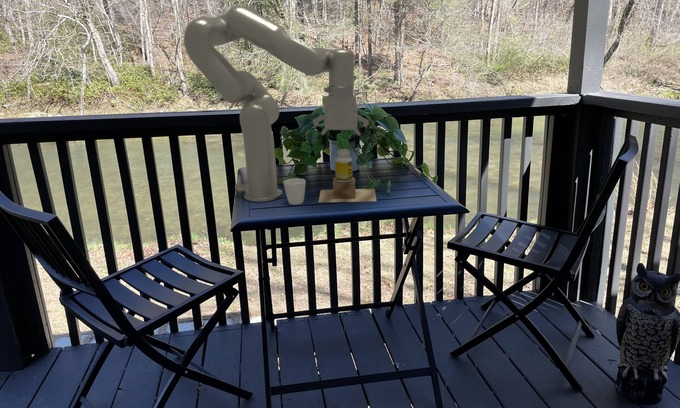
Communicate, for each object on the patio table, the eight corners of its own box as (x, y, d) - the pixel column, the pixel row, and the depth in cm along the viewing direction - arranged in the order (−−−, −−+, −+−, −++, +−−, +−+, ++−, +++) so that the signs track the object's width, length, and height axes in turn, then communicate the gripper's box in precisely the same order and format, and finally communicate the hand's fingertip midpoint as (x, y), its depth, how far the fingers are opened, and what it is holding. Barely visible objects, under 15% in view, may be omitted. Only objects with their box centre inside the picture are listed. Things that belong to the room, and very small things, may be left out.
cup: (282, 209, 161) (280, 184, 159) (288, 199, 171) (287, 175, 168) (305, 209, 161) (303, 184, 158) (310, 199, 170) (309, 175, 167)
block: (333, 199, 166) (332, 183, 165) (333, 192, 173) (333, 177, 172) (355, 198, 166) (355, 183, 165) (355, 191, 173) (354, 177, 171)
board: (318, 205, 164) (318, 202, 164) (320, 192, 176) (320, 189, 176) (376, 204, 164) (376, 201, 163) (374, 191, 176) (374, 188, 176)
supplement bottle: (351, 183, 165) (350, 152, 162) (334, 182, 166) (333, 152, 163) (354, 178, 170) (353, 148, 167) (337, 178, 171) (336, 148, 168)
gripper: (311, 92, 156) (312, 149, 161) (370, 93, 155) (368, 150, 161) (313, 89, 163) (313, 144, 168) (369, 90, 163) (367, 144, 168)
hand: (340, 147), depth 165 cm, fingers open, 9 cm apart
